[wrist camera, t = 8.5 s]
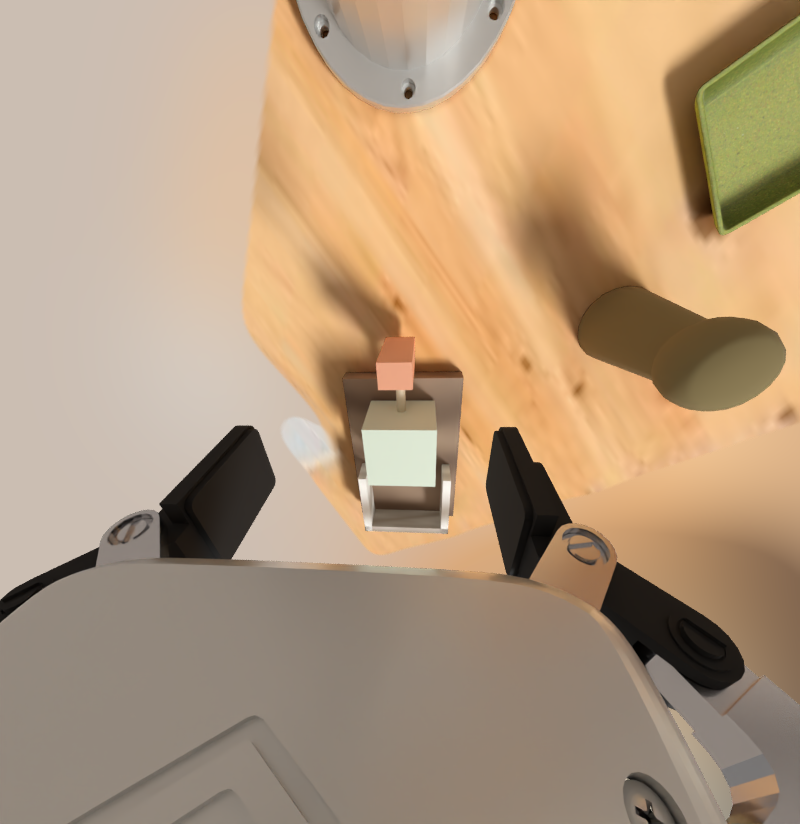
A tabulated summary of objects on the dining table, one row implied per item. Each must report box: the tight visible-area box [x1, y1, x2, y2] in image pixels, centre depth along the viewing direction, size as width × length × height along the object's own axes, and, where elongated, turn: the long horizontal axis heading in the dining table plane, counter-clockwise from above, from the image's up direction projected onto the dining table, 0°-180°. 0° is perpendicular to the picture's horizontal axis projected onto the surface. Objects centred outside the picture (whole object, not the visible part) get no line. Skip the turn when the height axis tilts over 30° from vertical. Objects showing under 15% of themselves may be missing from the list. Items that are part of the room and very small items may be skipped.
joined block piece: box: [361, 337, 437, 487], centre depth 25 cm, size 12×6×6 cm, turn 2°
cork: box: [578, 286, 786, 411], centre depth 19 cm, size 6×6×11 cm
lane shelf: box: [343, 372, 463, 534], centre depth 30 cm, size 18×11×4 cm, turn 2°
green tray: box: [695, 15, 800, 235], centre depth 17 cm, size 9×9×2 cm
